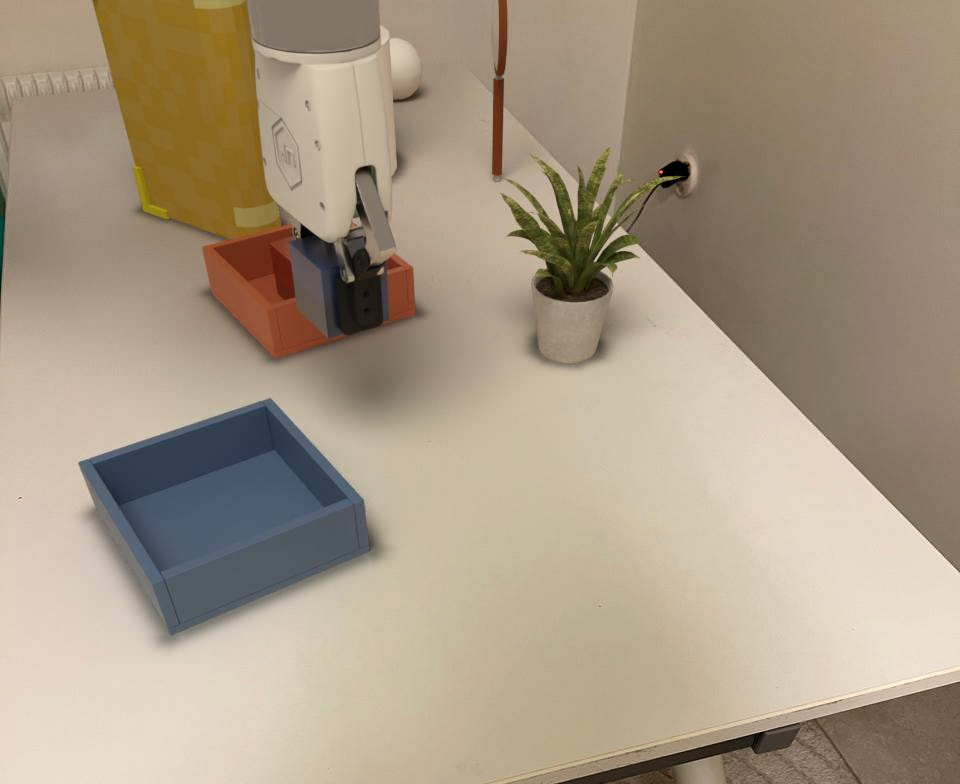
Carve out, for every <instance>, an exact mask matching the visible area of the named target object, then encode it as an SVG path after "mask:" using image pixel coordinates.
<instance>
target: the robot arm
mask: <svg viewBox="0 0 960 784" xmlns="http://www.w3.org/2000/svg"><path fill="white" fill-rule="evenodd" d="M246 2H247V9H248V16H249V23H250V30H251V37H252V45H253V49H254V50H255V78H256V95H257V107H258V118H259V128H260V138H261V147H262V157H263V165H264V174H265V181H266V187H267V190H268V192H269V194H270V195H271V197H272V198H273V199H274V200H275V201H276V202H277V203H278V206H280V207H281V208H282V209H283V210H284V211H285V212H286V213H288V214H289V215H290V216H291V224H292V232H293V236H294V238H295V240H298V239H302V238H306V237H310V236H314V235H317V236H318V237H319V238H321V239H322V240H324V241H326V242H329V243H331V242H334V247H335V252H336V257H337V261H338V266H339V271H340V275H341V277H340V278H336V279H335V283H336V293H337V303H338V313H339V323H340V330H341V331H342V332H343V333H344V334H345V335H349V336H353V335H356V334H359V333H362V332H365V331H368V330H372V329H374V328H377V327H380V325H381V324H382V323H383V307H382V290H381V274H383V272H384V264H385V263H386V261H387V259H388V258H390V257H391V256H392V255H393V254H394V253H395V254H396V252H397V244H396V241H395V238H394V234H393V232H392V230H391V227H390V224H391V221H392V217H393V177H392V176H393V175H391V161H390V150H389V139H388V129H387V120H386V112H385V104H384V96H383V90H382V83H381V76H380V71H379V65H378V59H377V55H376V54H375V52H377V51H378V50H379V49H380V47H381V35H380V25H381V17H380V0H246ZM357 218H359V221H360V223H361V224H359V225H358V224H357V226H354V227H350V226H351V223H352V222H353V219H357ZM359 238H364V243H365V245H364V247H363V248H362V249H358V250H357V251H356V252H355V254H354V255H353V257H352V258H351V254H350V249H349V244H348V241H351V240H355V239H359ZM381 326H382V325H381ZM361 331H362V332H361ZM358 332H359V333H358ZM355 333H356V334H355ZM352 334H353V335H352Z"/></svg>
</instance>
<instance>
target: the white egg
mask: <svg viewBox="0 0 960 784" xmlns="http://www.w3.org/2000/svg"><path fill="white" fill-rule="evenodd" d="M389 39H390V56H391V73H392V90H393V101H403V100H406V99H408V98H410V97H411V96H413V95H414V93H415V92H416V91H417V90H418V88H419V86H420V83H421V81H422V78H423V64H422V59H421V57H420V56H419V55H420V54H419V53H418V51H417V49H416V48H415V47H414V46H413V44H411V43H410V42H409V41H406V40H404V39H402V38H400V37H389Z"/></svg>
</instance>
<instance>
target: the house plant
mask: <svg viewBox="0 0 960 784" xmlns="http://www.w3.org/2000/svg"><path fill="white" fill-rule="evenodd" d="M528 154H529V156H530V157H531V158H532V159H533V160H534V161H535V162H536V163H537V164H538V165H539V166H540V167H541V169H542V170H541V173H543V175H544V176H546V177H547V179H548V181H549V182H550V184H551V188H552V190H553V193H554V197H555V201H556V206H557V210H558V214H559V216H560V221H561V226H562V230H561V228H560V227H559V226H558V225H557V224H556V223H555V221H554V220H553V219H551V218H550V217H549V215H548V213H547V212H546V211H545V209H544V207H543V206H542V204H541V203H540V202H539V201H538V200H537V199H536V197H535V196H534V195H533V194H532V193H531V192H530V191H529V190H527V188H525V187H523V186H522V185H521V184H519V183H518V182H516V181H514V180H513V179H509V178H505V177H502V179H503V180H504V181H506V182H508V183H510V184H512V185H513V186H514V187H515V188H516V189H517V190H519V191H520V192H521V193H522V194H523V195H524V196H525V197H526V199H527V200H528V201H529V202H530V203H531V205H532V206H533V208H534V209H535V210H536V212H534V211H529V212H528V211H526V210H525V209H524V208H523V207H522V206H521V205H520V204H519V203H518V202H517V201H516V200H515V199H514V198H512V197H510V196H508V195H506V194H505V193H503V192H502V193H501V192H499V194H500V195H501V197H502V200H503V201H504V203H506V205H507V206H508V207H509V208H510V210H511V211H510V212H511V214H512V217H513V218H514V220H515V222H516V223H517V225H518V226H519V227H520V228H521V229H516V230H513V231H510V233H508V234H507V235H506V236H505V238H508V237H516V238H520V239H524V240H525V239H526V240H527V241H530V242H531V244H533V245H534V246H535V248H536V249H537V250H534V249H525V250H523V249H522V250H520V253H523V254H525V255H530V256H535V257H537V258H538V259H541V260H543V261H544V262H545V266H546V268H538V269H537V271H536V272H535V274H534V275H533V277H532V278H531V290H532V291H531V292H532V301H533V310H534V319H535V328H536V336H537V346H538V350H539V353H541V355H542V356H544V357H545V358H547V359H549V360H551V361H554V362H556V363H557V362H558V363H562V364H563V363H565V364H574V363H575V364H576V363H581V362H583V361H585V360H588V359H591V358H592V357H593V356H594V355H595V354H596V352H597V347H598V346H599V345H598V344H599V341H600V338H601V335H602V331H603V327H604V324H605V320H606V317H607V312H608V309H609V306H610V303H611V298H612V296H613V292H614V287H615V285H614V282H613V278H614V273H615V272H616V270H617V269H618V264H617V263H620V262H624V261H628V260H633V259H640V257H639V256H638V255H636V254H635V253H633V252H632V251H628V250H621V249H623V248H626V247H630V246H634V245H639V244H641V245H644V243H643V242H642V241H641V240H640V239H639V238H638V237H636V236H634V235H632V234H624V235H623V234H622V235H620V236H618V237H617V238H615V239H613V240H612V241H611V242H610V243H609V244H608V245H607V246H606V247H605V248H604V246H605V244H606V243H607V242H608V241H609V239H610V238H611V236H612V235H613V234H614V233H615V232H616V231H617V230H618V229H619V228H620V227H621V226H622V225H623V224H624V223H625V222H627V220H628V219H630V217H631V216H632V215H633V214H635V213H636V212H637V211H638V210H640V209H641V208H643V207H644V206H646V205H647V204H648V202H646V203H645V204H643V205H641V206H639V207H638V208H636V209H634V210H632V211H631V212H630V213H629V214H628V215H627V216H626V217H625V218H624V219H622V220H621V221H620V219H621V218H622V217H623V215H624V214H625V213H626V212H627V210H629V208H630V207H631V206H632V205H633V204H634V203H635V202H636V201H637V200H638V199H639V198H641V197H642V196H643V195H644V194H646V193H647V192H649V191H650V190H652V189H653V188H655V187H656V186H658V185H660V184H662V183H664V182H669V181H673V180H676V179H679V178H682V177H686V176H684V175H673V176H671V175H670V176H662V177H658V178H653V179H651V180H649V181H647V182H645V183H643V184H642V185H640V186H639V187H638V188H636V189H635V190H634V191H633V192H632V193H630V194H629V195H628V196H627V197H626V198H625V199H624V201H623V202H622V203H621V204H620V206H619V207H618V209H617V210H616V212H615V213H614V214H613V216H611V218H610V219H609V220H608V222H607V223H606V225H604V224H605V221H606V219H607V215H608V213H609V209H610V207H611V205H612V203H613V200H614V198H615V195H616V193H617V192H618V189H619V186H620V185H622V184H623V183H627V182H634V181H636V179H634V178H627V179H622V178H623V177H624V175H625V172H622V173H620V174H618V175H617V176H616V177H615V178H614V179H613V181H612V182H611V184H610V187H609V188H608V190H607V192H606V195H605V197H604V200H603V201H602V203H601V204H599V205H598V206H597V207H595V203H596V199H597V195H598V192H599V189H600V186H601V183H602V180H603V177H604V175H605V173H606V170H607V165H608V164H607V163H608V158H609V155H610V154H611V147H608V148H606V149H605V150H604V151H603V152H602V153H601V155H600V156H599V158H598V159H597V160H596V162H595V164H594V166H593V169H592V171H591V173H590V176H589V178H588V181H587V183H585V177H584V174H583V171H582V169H581V167H580V166H579V165H578V164H575V165H577V173H578V186H577V187H578V188H577V215H576V216H575V212H574V209H573V204H572V201H571V198H570V195H569V191H568V189H567V186H566V184H565V182H564V181H563V179H562V177H561V174H559V173H558V172H557V171H556V170H555V169H554V168H553V167H551V166H550V165H548V164H547V163H546V162H545V161H543V160H542V159H540V158H539V157H537V156H536V155H535V156H534V155H533V154H531V153H528ZM594 207H595V209H594ZM531 214H536V215H537V216H538V219H539V220H540V222H541V223H542V224H543V225H544V226H545V228H546V229H547V230H545V229H544V228H541V226H540V223H539V222H538V220H537V219H536V218H535V217H534V216H532V215H531ZM619 221H620V222H619ZM618 222H619V223H618ZM617 223H618V224H617ZM616 224H617V225H616ZM604 226H605V227H604ZM644 247H645V248H646V250H648V249H647V247H646V245H644ZM603 248H604V249H603ZM600 252H601V253H600ZM605 268H607V269H608V270H609V271H610V273H611V277H610V276H609V275H608V274H606V273H604V272H603V271H602V270H604V269H605ZM611 278H612V279H611Z"/></svg>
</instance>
